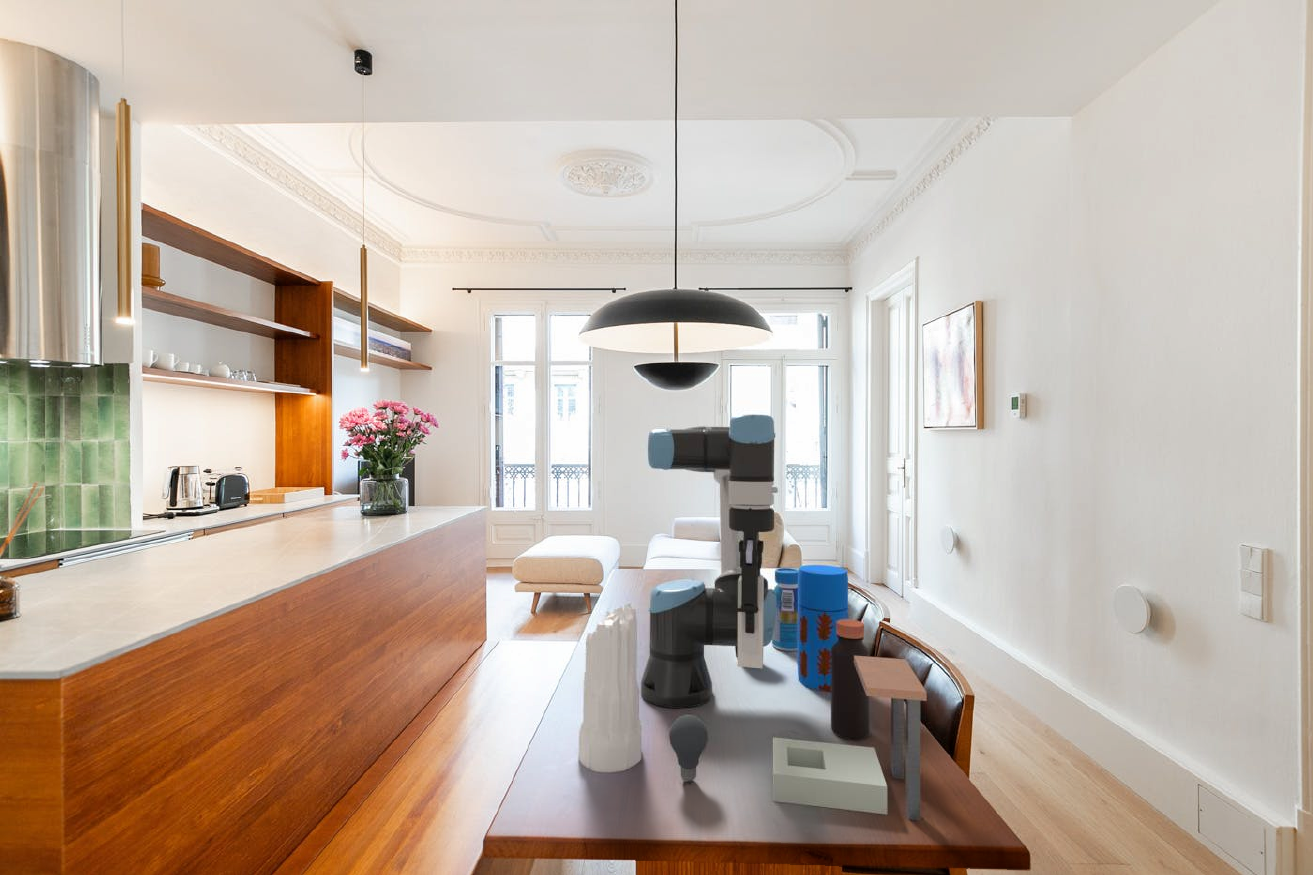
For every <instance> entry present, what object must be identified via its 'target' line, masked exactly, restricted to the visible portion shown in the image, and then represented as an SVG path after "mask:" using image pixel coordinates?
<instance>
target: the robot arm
mask: <svg viewBox="0 0 1313 875" xmlns="http://www.w3.org/2000/svg"><path fill="white" fill-rule="evenodd" d="M775 438H776V433H775V422H774V418H773V417H772V416H771V415H768V414H737V415H733V416H731V417H730V420H729V426H694V427H688V428H683V429H682V428H680V429H679V428H677V429H675V428H671V429H669V428H662V429H660V428H659V429H652V430H651V431H650V432H649V434H648V442H647V458H648V459H647V461H648V465H649V467H650V468H651V469H655V470H656V469H657V470H663V471H667V470H685V471H690V472H691V471H692V472H698V473H713V478H714V481H715V482H716V483H718V484H719V499H720V500H719V502H720V503H719V506H720V509H719V510H720V512H719V513H720V515H719V516H720V520H719V521H720V575H718V576H717V578H715V579H714V583H713V584H714V587H711V588H709V587H706V584H705V583H704V581H703V580H701V579H693V578H682V579H675V580H670V581H665V582H663V583H660V584H658V585H656V586H655V587H654V588H653V589H652V591H651V593H650V598H649V599H650V600H649V607H648V612H649V656H648V660H647V662H646V664H645V669H644V672H643V675H642V678H641V683H640V694H641V697H642V698H643V699H644V700H646V701H647V702H649V703H651V704H652V705H656V706H658V707H659V706H660V707H665V708H670V709H671V708H674V709H684V708H685V709H686V708H692V707H693V708H694V707H698V706H701V705H702V704H705V703H707V702H708V701H709V700H710V699H712V696H713V682H712V678H711V675H710V671H709V668H708V665H707V662H706V659H705V646H720V647H735V646H738V612H742V652H749V653H758V652H759V612H758V577H764V610H763V648H764V647H767V646H768V645H770V644H771V643H772V637H773V632H774V625H775V615H776V591H775V590H774V589H772V588H769V581H768V579H767V578H766V577H765V576H764V575H763V574H761V568H762V565H763V553H764V544H765V543H764V540H760V533H767V532H772V531H773V530H774V529H775V510H774V508H772V507H771V506H773V505H774V504H775V495H774V494H776V493H777V494H778V492H779V490H778V487H776V486H774V483H775V482H774V481H775V473H774V472H775ZM740 576H741V608H738V579H739V577H740Z"/></svg>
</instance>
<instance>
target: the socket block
mask: <svg viewBox="0 0 1313 875" xmlns="http://www.w3.org/2000/svg"><path fill="white" fill-rule="evenodd" d="M773 801H774V802H779V803H780V802H781V803H788V804H789V803H790V804H796V805H797V804H798V805H806V806H812V807H814V806H815V807H821V808H830V809H836V810H838V809H839V810H846V811H847V810H848V811H854V812H861V813H862V812H863V813H872V814H879V815H888V785H887V782H886V779H885V775H884V772H883V770H882V767H881V765H880V761H879V757H878V756H877V752H876V750H875V747H871V746H862V745H861V746H859V745H851V744H841V743H831V742H820V741H812V740H800V739H793V738H792V739H791V738H783V737H782V738H781V737H772V802H773Z"/></svg>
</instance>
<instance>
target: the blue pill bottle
mask: <svg viewBox="0 0 1313 875" xmlns="http://www.w3.org/2000/svg"><path fill="white" fill-rule="evenodd" d="M798 571H799V569H796V568H791V567H780V568H776V569H775V571H774V581H775V584H776V585H775V586H774V588H773V590H775V591H776V615H775V625H774V632H773V637H772V640H771V645H772V646H773V647H774V648H775V649H777V650H781V651H786V652H796V651H797V652H798Z"/></svg>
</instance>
